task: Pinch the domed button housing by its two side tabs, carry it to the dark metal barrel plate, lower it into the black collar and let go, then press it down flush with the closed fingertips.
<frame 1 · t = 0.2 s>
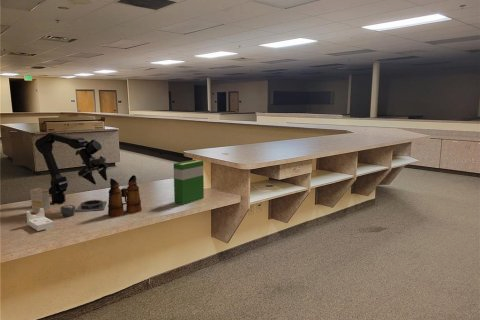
hand: (101, 182, 191), 15 cm above the table, tool tilted 30°, fingers open, 9 cm apart
bracket: (40, 227, 164), on the table
supplement box: (41, 213, 184), on the table
barrel plate: (92, 207, 194), on the table
binoculars: (125, 212, 185), on the table
domed button housing: (68, 215, 180), on the table
hardback book: (189, 200, 209), on the table
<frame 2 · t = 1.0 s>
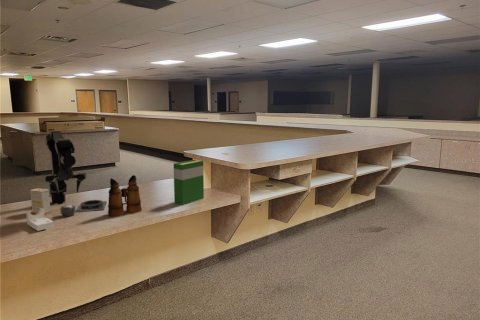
hand: (67, 192, 178), 12 cm above the table, tool pointing down, fingers open, 9 cm apart
nothing on the table moved.
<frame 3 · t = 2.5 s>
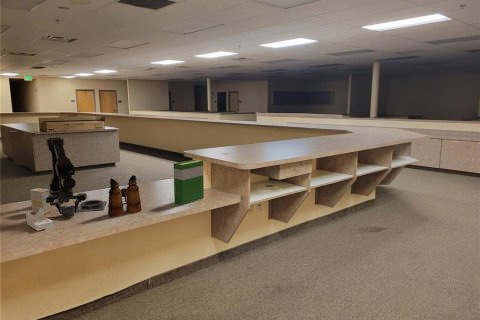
hand: (68, 213, 180), 1 cm above the table, tool pointing down, fingers closed on domed button housing, 7 cm apart
domed button housing: (68, 215, 180), on the table, touching gripper
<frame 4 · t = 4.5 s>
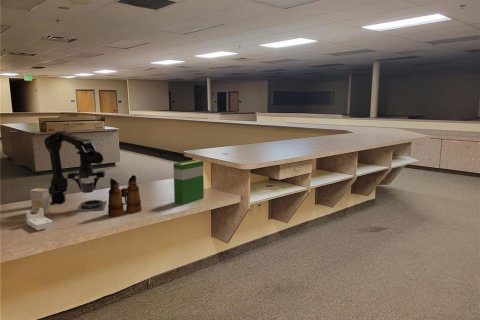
hand: (87, 189, 190), 11 cm above the table, tool pointing down, fingers closed on domed button housing, 7 cm apart
domed button housing: (87, 191, 190), point 10 cm above the table, touching gripper
when the fingers open (3 cm above the table, at t = 6.6 s): domed button housing drops 1 cm, resting on barrel plate.
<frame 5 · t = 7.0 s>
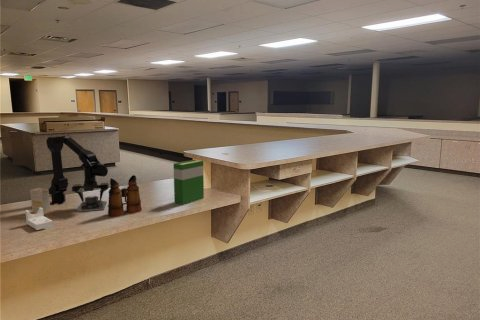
hand: (91, 201, 193), 3 cm above the table, tool pointing down, fingers open, 9 cm apart
domed button housing: (92, 205, 194), point 1 cm above the table, touching barrel plate
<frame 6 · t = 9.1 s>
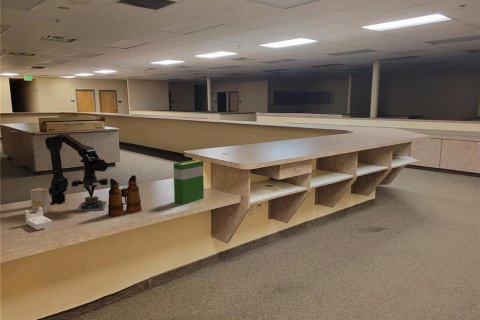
hand: (91, 196, 193), 6 cm above the table, tool pointing down, fingers closed, pressing on domed button housing
domed button housing: (92, 205, 194), point 1 cm above the table, touching barrel plate, gripper
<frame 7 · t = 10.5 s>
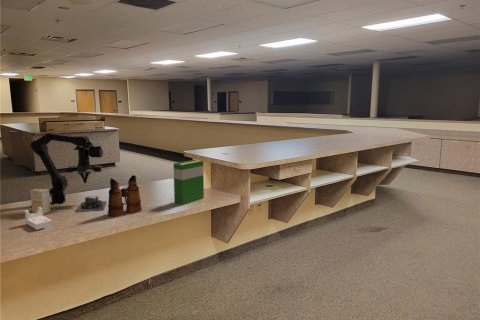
hand: (85, 183, 201), 12 cm above the table, tool pointing down, fingers closed
domed button housing: (92, 205, 194), point 1 cm above the table, touching barrel plate
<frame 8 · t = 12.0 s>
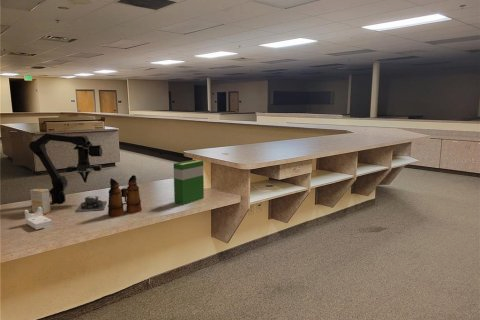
hand: (85, 182, 202), 12 cm above the table, tool pointing down, fingers closed
at the end: domed button housing 0.1 cm off-centre on the barrel plate, point 1.0 cm above the barrel plate's base; domed button housing tilted 0°; the gripper is holding nothing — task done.
